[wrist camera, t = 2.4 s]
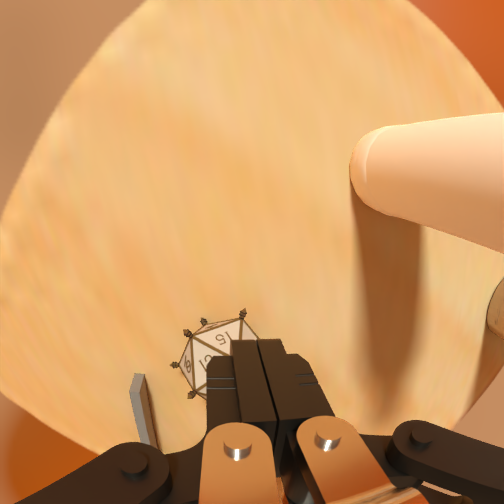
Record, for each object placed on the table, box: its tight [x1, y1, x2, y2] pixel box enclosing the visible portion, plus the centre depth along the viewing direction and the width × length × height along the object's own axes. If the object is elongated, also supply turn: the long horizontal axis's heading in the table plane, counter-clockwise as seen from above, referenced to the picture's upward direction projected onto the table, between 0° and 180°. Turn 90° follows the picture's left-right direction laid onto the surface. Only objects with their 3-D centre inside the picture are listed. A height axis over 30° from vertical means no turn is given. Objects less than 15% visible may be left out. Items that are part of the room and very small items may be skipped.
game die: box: [170, 308, 259, 407], centre depth 25 cm, size 9×8×10 cm
